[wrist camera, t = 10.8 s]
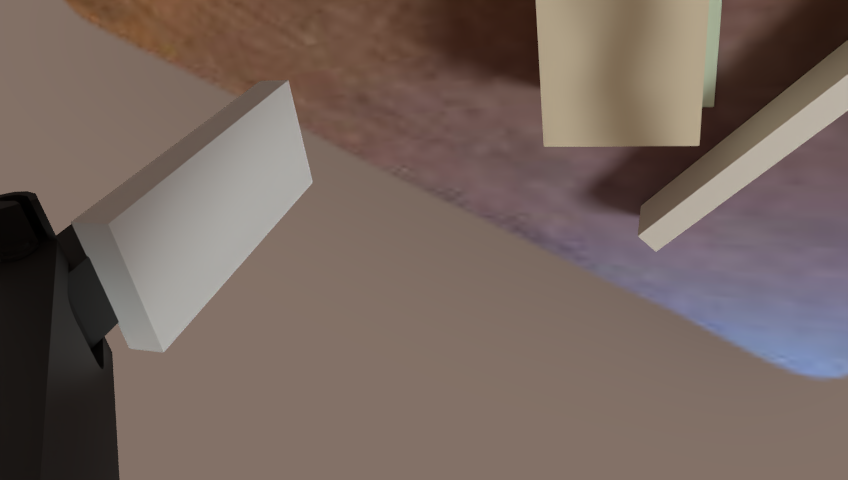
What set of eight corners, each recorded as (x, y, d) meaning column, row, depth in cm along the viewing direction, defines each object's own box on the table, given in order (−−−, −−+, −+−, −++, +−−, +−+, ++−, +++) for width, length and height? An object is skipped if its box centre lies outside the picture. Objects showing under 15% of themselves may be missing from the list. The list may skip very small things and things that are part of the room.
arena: (460, 48, 45) (443, 68, 42) (687, -232, 34) (687, -234, 31) (657, 220, 47) (655, 251, 44) (931, 10, 36) (954, 31, 33)
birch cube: (563, 95, 44) (543, 146, 38) (558, -36, 40) (535, -2, 34) (696, 91, 42) (699, 146, 35) (705, -49, 38) (710, -16, 31)
